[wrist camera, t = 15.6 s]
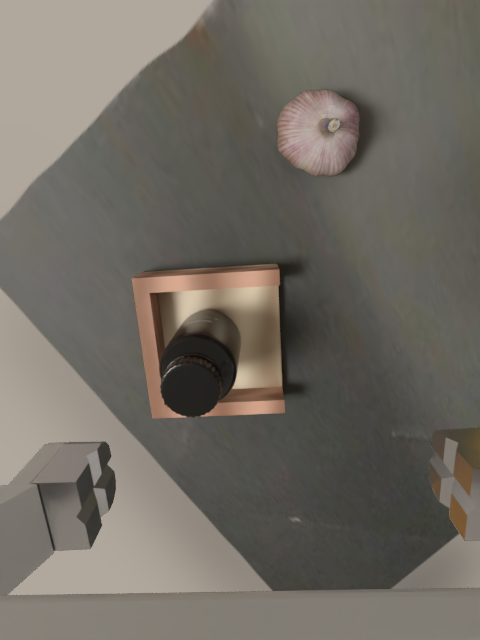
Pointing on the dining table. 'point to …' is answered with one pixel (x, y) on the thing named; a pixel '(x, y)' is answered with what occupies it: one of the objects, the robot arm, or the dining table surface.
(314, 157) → the garlic bulb
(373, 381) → the dining table surface
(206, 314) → the supplement bottle
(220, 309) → the open-sided tray
